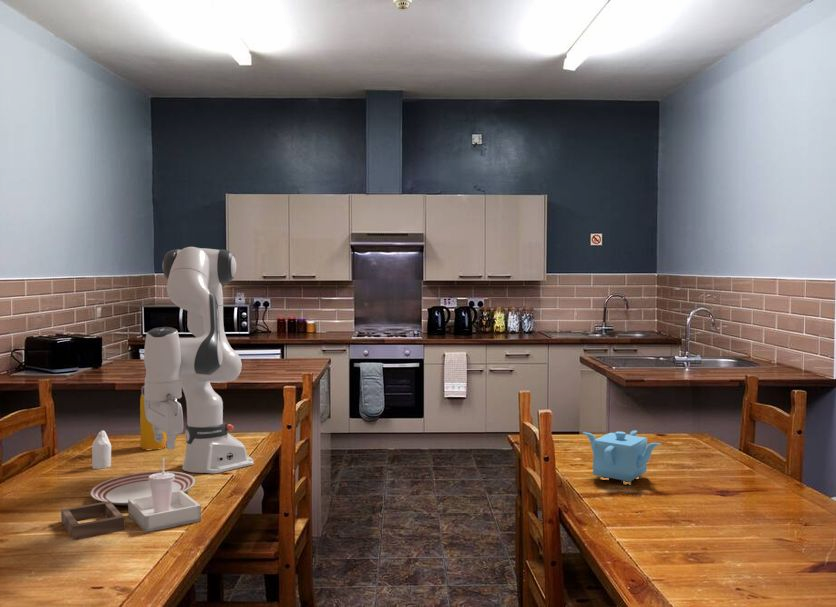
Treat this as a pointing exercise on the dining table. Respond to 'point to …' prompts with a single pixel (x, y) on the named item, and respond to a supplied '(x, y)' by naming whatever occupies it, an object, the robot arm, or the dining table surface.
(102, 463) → the white tapered bottle
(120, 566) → the dining table surface
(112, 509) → the socket block
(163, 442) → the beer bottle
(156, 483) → the smoothie
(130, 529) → the dining table surface
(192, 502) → the tray
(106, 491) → the dinner plate
